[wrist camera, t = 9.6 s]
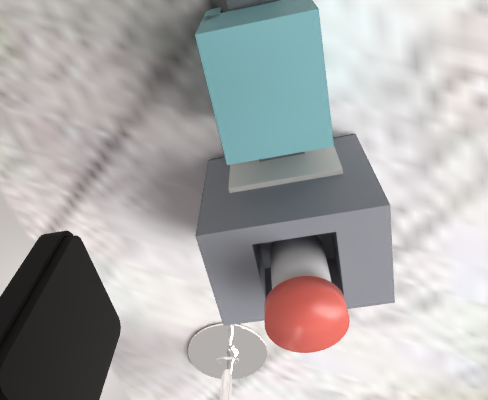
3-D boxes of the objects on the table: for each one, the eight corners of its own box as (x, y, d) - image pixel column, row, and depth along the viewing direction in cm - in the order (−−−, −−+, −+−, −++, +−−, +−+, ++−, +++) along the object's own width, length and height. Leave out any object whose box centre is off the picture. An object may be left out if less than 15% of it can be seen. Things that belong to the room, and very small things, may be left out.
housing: (207, 156, 29) (194, 231, 22) (355, 129, 28) (389, 199, 21) (229, 237, 32) (223, 325, 25) (362, 216, 31) (394, 302, 24)
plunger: (256, 229, 23) (257, 298, 19) (328, 218, 23) (345, 286, 19) (268, 282, 25) (272, 357, 21) (334, 273, 25) (352, 347, 21)
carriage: (206, 10, 24) (194, 34, 19) (304, -11, 23) (318, 8, 18) (231, 119, 27) (226, 165, 22) (318, 103, 26) (333, 146, 21)
